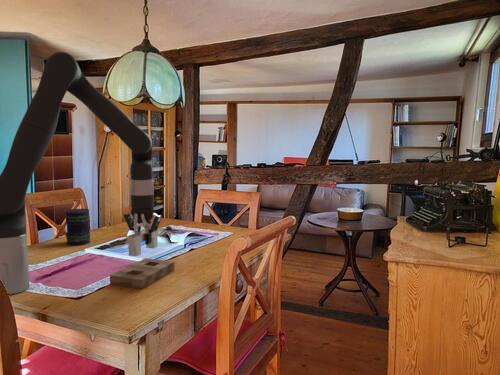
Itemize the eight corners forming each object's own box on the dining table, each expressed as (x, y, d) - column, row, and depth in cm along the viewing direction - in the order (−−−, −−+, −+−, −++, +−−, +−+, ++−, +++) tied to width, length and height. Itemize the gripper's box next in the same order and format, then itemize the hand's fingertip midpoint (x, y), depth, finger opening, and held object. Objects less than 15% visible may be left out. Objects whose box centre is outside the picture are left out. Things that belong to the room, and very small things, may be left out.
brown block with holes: (142, 289, 121) (142, 279, 121) (110, 284, 125) (109, 275, 125) (174, 269, 140) (174, 261, 140) (145, 266, 144) (145, 258, 144)
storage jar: (94, 243, 176) (92, 210, 174) (71, 247, 169) (70, 213, 167) (85, 239, 183) (84, 207, 181) (63, 242, 176) (61, 210, 174)
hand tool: (178, 243, 179) (178, 233, 178) (169, 243, 177) (169, 233, 177) (173, 234, 196) (173, 225, 196) (165, 234, 195) (165, 225, 195)
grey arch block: (135, 257, 125) (134, 237, 124) (127, 256, 126) (126, 236, 125) (158, 246, 138) (158, 228, 137) (151, 245, 139) (150, 227, 138)
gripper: (117, 193, 128) (118, 244, 130) (154, 195, 124) (155, 248, 126) (131, 190, 135) (132, 239, 137) (166, 192, 131) (167, 242, 133)
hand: (143, 243), depth 131 cm, fingers closed on grey arch block, 3 cm apart
